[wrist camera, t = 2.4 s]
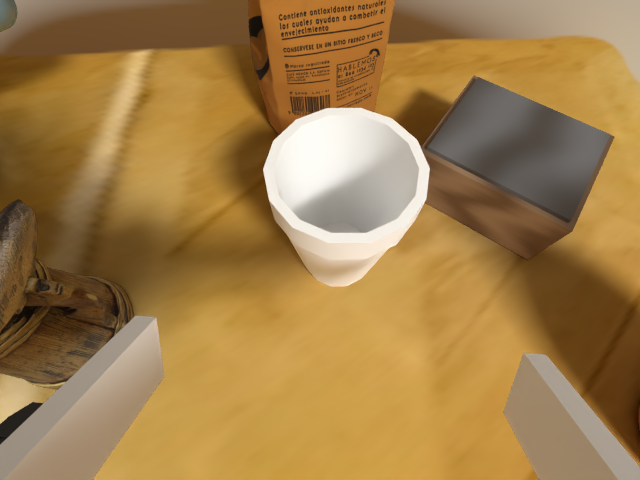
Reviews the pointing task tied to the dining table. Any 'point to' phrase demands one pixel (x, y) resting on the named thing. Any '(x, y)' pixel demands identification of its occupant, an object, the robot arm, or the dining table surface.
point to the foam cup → (345, 189)
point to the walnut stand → (512, 167)
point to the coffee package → (318, 54)
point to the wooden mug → (49, 308)
